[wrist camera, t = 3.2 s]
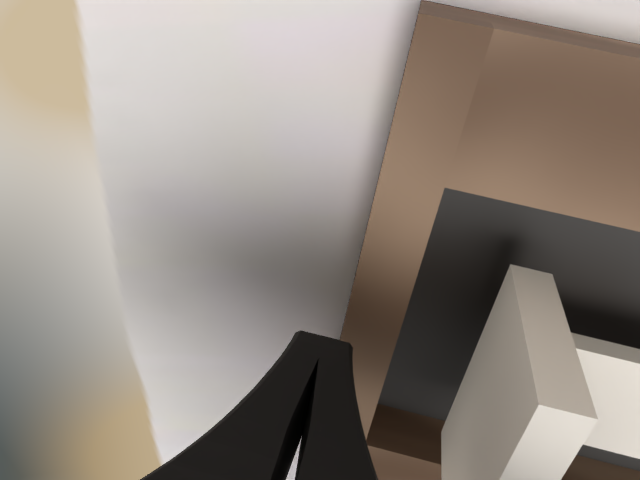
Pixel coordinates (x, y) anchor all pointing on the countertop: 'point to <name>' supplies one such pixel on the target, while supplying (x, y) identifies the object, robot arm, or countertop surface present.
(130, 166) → the countertop surface
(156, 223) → the countertop surface
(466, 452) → the slider
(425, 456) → the deck
